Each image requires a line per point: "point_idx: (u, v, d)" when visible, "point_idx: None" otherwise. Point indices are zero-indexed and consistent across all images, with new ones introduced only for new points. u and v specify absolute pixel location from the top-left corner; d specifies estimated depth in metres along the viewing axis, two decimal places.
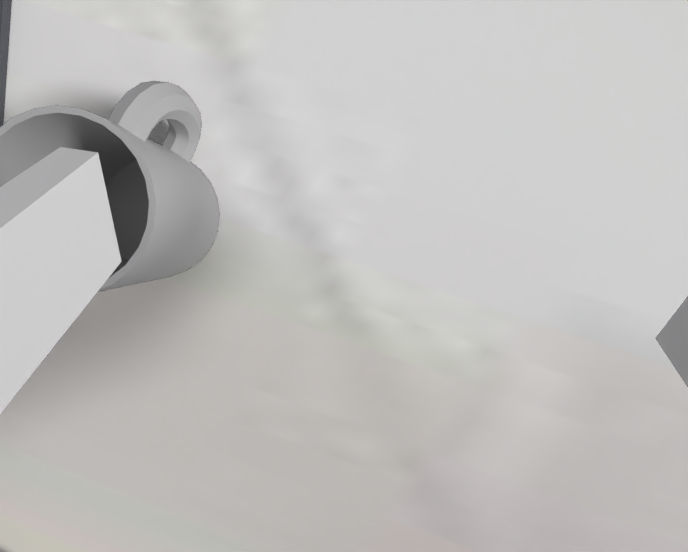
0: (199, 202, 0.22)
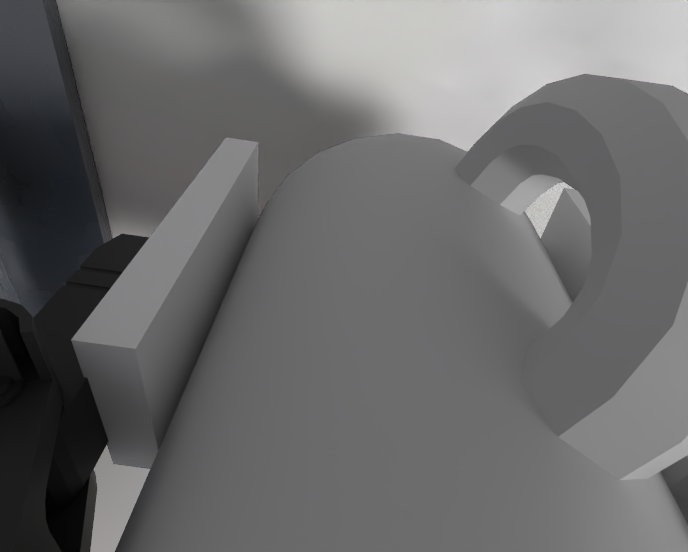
0: None
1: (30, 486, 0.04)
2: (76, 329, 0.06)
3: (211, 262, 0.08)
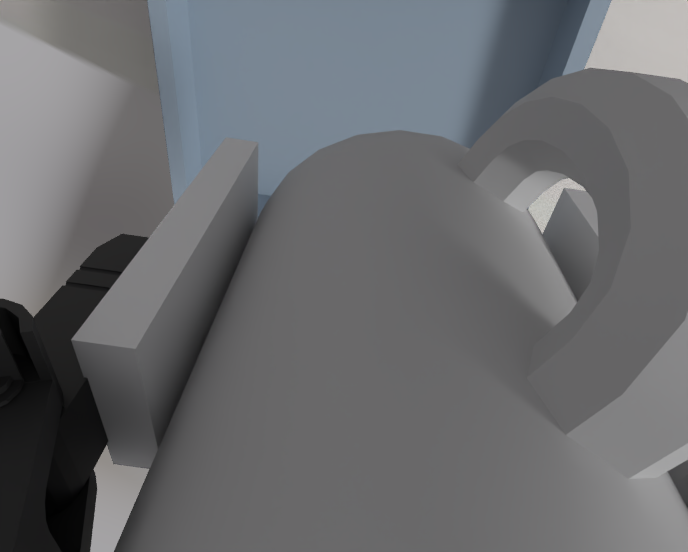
0: None
1: (30, 486, 0.04)
2: (76, 329, 0.06)
3: (211, 262, 0.08)
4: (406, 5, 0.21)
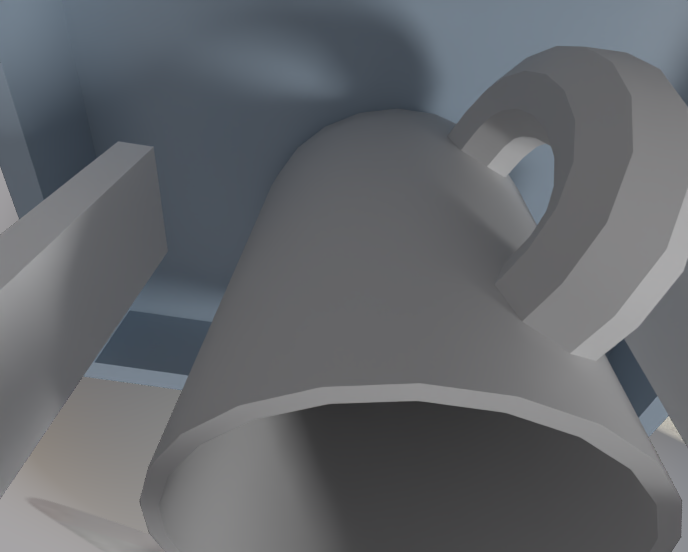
0: None
1: None
2: None
3: (64, 283, 0.07)
4: (505, 26, 0.10)
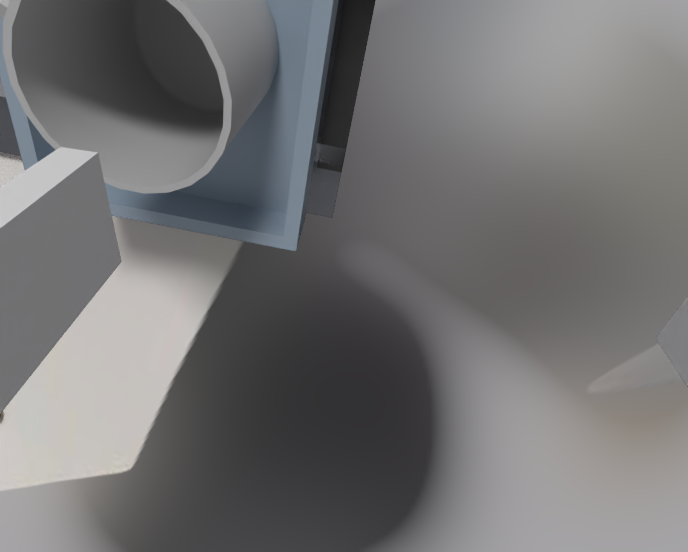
0: None
1: None
2: None
3: None
4: None
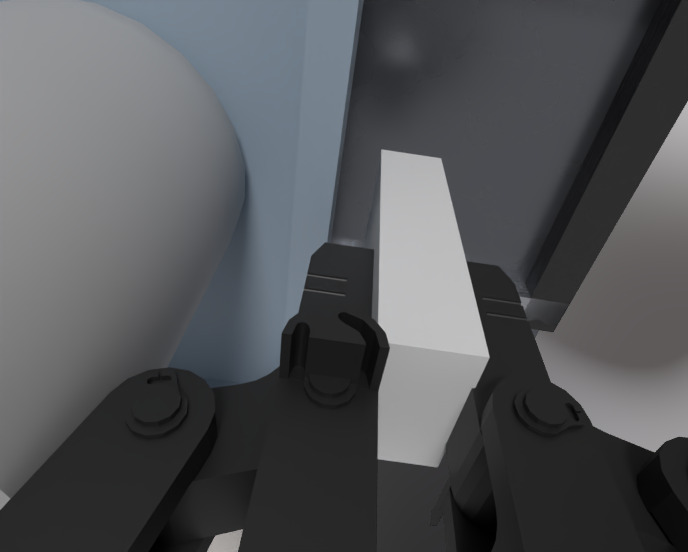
0: None
1: (373, 491, 0.05)
2: None
3: None
4: None
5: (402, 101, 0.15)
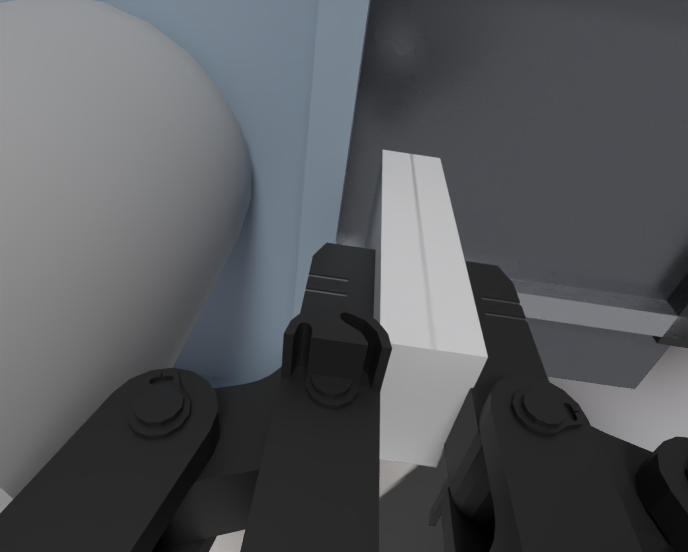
0: None
1: (375, 491, 0.05)
2: None
3: None
4: None
5: (582, 126, 0.15)
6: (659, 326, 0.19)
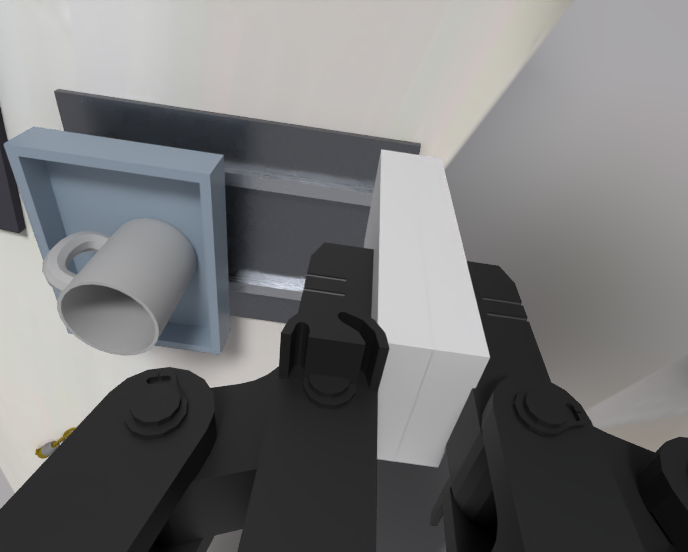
0: (121, 240, 0.35)
1: (372, 491, 0.05)
2: None
3: None
4: (90, 226, 0.39)
5: (311, 233, 0.43)
6: None
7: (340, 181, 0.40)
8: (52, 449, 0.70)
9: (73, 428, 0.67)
